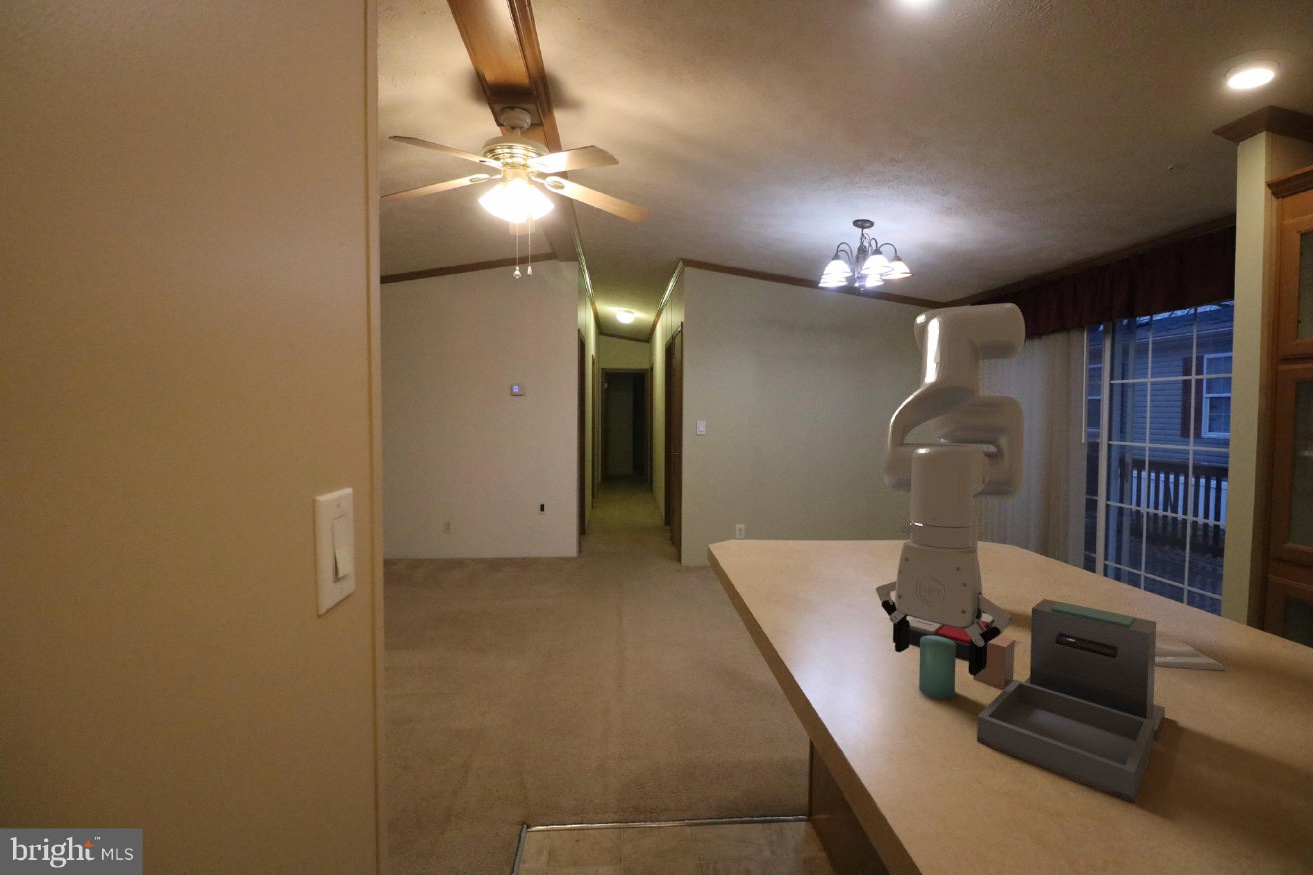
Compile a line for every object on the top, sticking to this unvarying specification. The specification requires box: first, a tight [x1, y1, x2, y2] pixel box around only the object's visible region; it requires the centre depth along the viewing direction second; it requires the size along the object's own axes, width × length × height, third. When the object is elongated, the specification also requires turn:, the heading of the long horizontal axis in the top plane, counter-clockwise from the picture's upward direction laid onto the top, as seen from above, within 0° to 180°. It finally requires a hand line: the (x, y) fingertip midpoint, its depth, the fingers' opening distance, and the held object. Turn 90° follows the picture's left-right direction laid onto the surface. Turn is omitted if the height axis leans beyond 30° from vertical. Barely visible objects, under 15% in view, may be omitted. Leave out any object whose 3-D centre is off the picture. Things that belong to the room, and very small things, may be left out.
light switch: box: [1155, 635, 1224, 671], centre depth 91 cm, size 11×4×13 cm
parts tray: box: [976, 679, 1155, 804], centre depth 65 cm, size 14×14×3 cm
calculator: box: [908, 612, 994, 662], centre depth 96 cm, size 11×4×15 cm
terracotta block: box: [972, 635, 1015, 690], centre depth 81 cm, size 4×4×6 cm
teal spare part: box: [918, 636, 957, 701], centre depth 77 cm, size 4×4×7 cm
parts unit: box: [1024, 598, 1166, 742], centre depth 73 cm, size 14×8×12 cm, turn 42°
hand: (937, 660), depth 76 cm, fingers open, 9 cm apart
